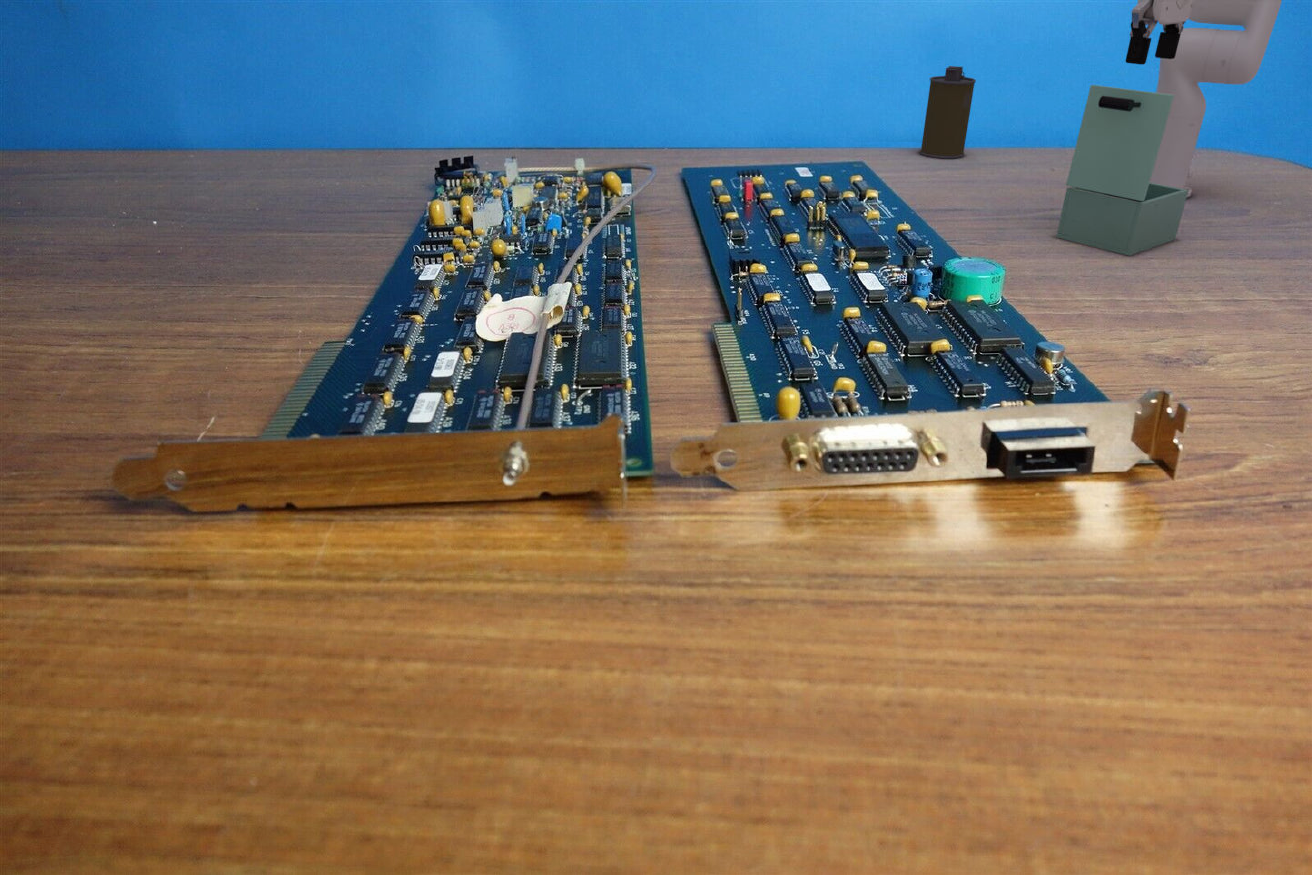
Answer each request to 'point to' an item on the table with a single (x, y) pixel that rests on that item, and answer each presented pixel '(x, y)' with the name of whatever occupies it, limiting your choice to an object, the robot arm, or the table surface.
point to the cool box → (1122, 219)
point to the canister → (947, 114)
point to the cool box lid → (1119, 141)
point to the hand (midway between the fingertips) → (1150, 60)
